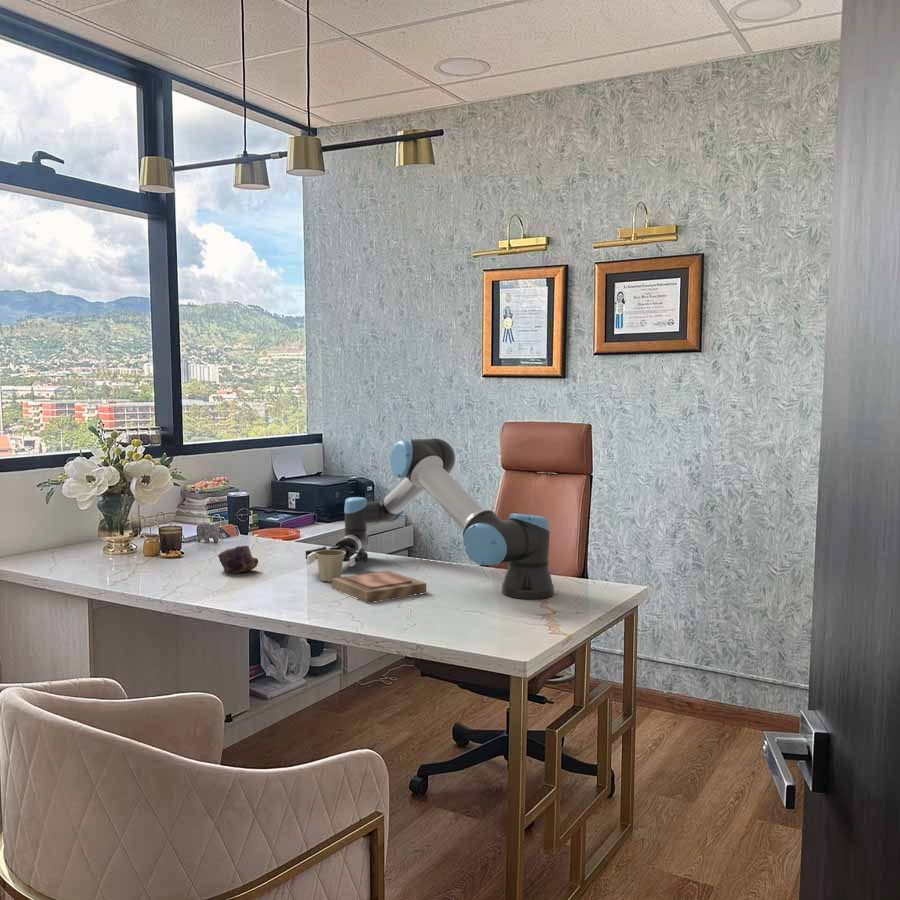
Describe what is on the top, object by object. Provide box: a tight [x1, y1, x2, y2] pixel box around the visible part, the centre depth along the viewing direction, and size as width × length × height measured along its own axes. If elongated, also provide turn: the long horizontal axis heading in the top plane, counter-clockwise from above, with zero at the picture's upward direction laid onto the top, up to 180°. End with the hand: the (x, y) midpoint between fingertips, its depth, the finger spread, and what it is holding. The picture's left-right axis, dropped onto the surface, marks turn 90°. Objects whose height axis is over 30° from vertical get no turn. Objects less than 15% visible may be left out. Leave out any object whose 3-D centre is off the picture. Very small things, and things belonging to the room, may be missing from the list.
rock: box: [217, 545, 259, 574], centre depth 267 cm, size 12×9×10 cm
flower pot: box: [315, 550, 346, 583], centre depth 257 cm, size 9×9×9 cm
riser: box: [331, 570, 427, 603], centre depth 245 cm, size 20×20×4 cm
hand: (329, 561), depth 258 cm, fingers open, 13 cm apart
